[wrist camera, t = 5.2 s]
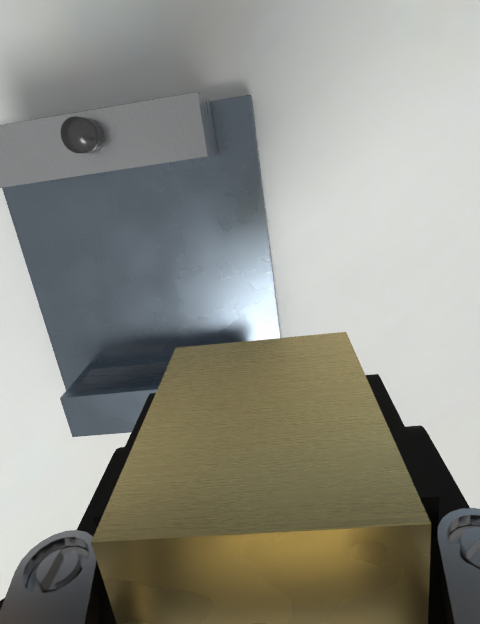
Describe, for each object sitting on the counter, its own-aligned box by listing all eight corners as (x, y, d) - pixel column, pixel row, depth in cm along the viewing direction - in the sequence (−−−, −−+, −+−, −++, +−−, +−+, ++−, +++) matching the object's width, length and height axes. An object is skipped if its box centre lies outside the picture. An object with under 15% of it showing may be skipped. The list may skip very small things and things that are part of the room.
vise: (251, 97, 22) (246, 83, 18) (284, 373, 28) (287, 419, 23) (-3, 139, 24) (-69, 137, 19) (76, 393, 29) (39, 439, 25)
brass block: (346, 332, 10) (431, 524, 5) (353, 502, 12) (422, 775, 7) (175, 347, 10) (90, 542, 5) (206, 510, 12) (165, 776, 7)
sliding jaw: (210, 101, 22) (193, 89, 17) (218, 154, 23) (204, 156, 18) (21, 133, 23) (-44, 129, 18) (35, 182, 24) (-23, 191, 19)
